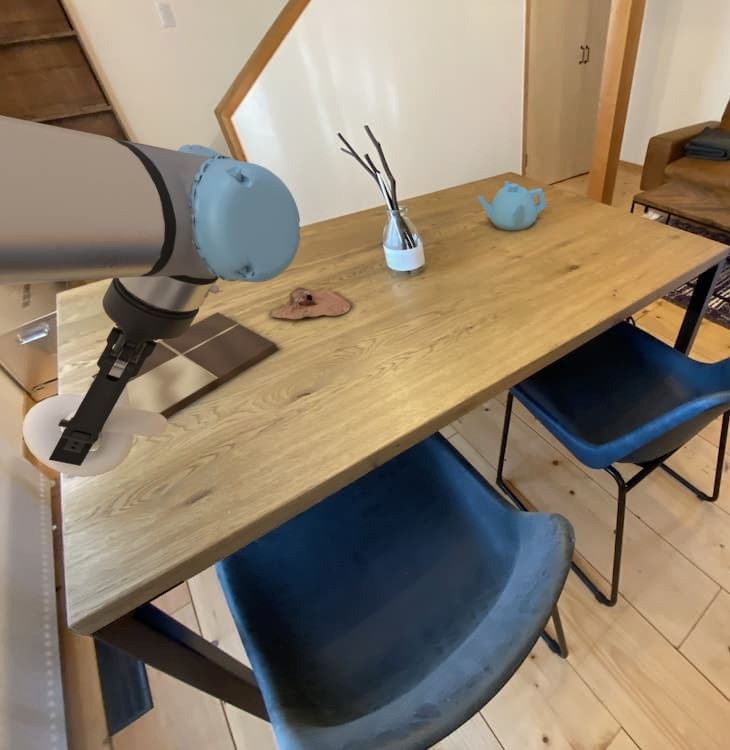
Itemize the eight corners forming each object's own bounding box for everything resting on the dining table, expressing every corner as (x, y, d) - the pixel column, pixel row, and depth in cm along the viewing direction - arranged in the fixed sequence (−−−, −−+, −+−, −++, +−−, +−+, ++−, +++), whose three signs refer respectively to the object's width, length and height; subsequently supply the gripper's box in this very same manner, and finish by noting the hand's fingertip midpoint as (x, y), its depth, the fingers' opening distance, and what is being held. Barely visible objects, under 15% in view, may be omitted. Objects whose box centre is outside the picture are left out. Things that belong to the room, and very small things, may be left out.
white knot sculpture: (197, 411, 60) (163, 361, 54) (144, 486, 51) (95, 436, 45) (116, 411, 60) (73, 362, 54) (49, 486, 51) (-12, 437, 45)
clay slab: (360, 298, 99) (357, 286, 97) (324, 331, 90) (320, 319, 88) (307, 287, 103) (303, 275, 101) (267, 317, 94) (262, 305, 92)
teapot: (521, 238, 121) (521, 199, 113) (477, 226, 127) (475, 188, 119) (547, 219, 130) (550, 181, 122) (505, 208, 136) (505, 172, 129)
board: (151, 427, 71) (145, 420, 70) (96, 382, 79) (90, 375, 78) (278, 349, 86) (275, 342, 85) (220, 317, 94) (217, 311, 93)
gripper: (174, 377, 39) (88, 512, 47) (219, 258, 56) (151, 371, 63) (65, 341, 35) (-11, 497, 42) (151, 223, 52) (86, 349, 59)
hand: (87, 421), depth 53 cm, fingers closed on white knot sculpture, 11 cm apart
